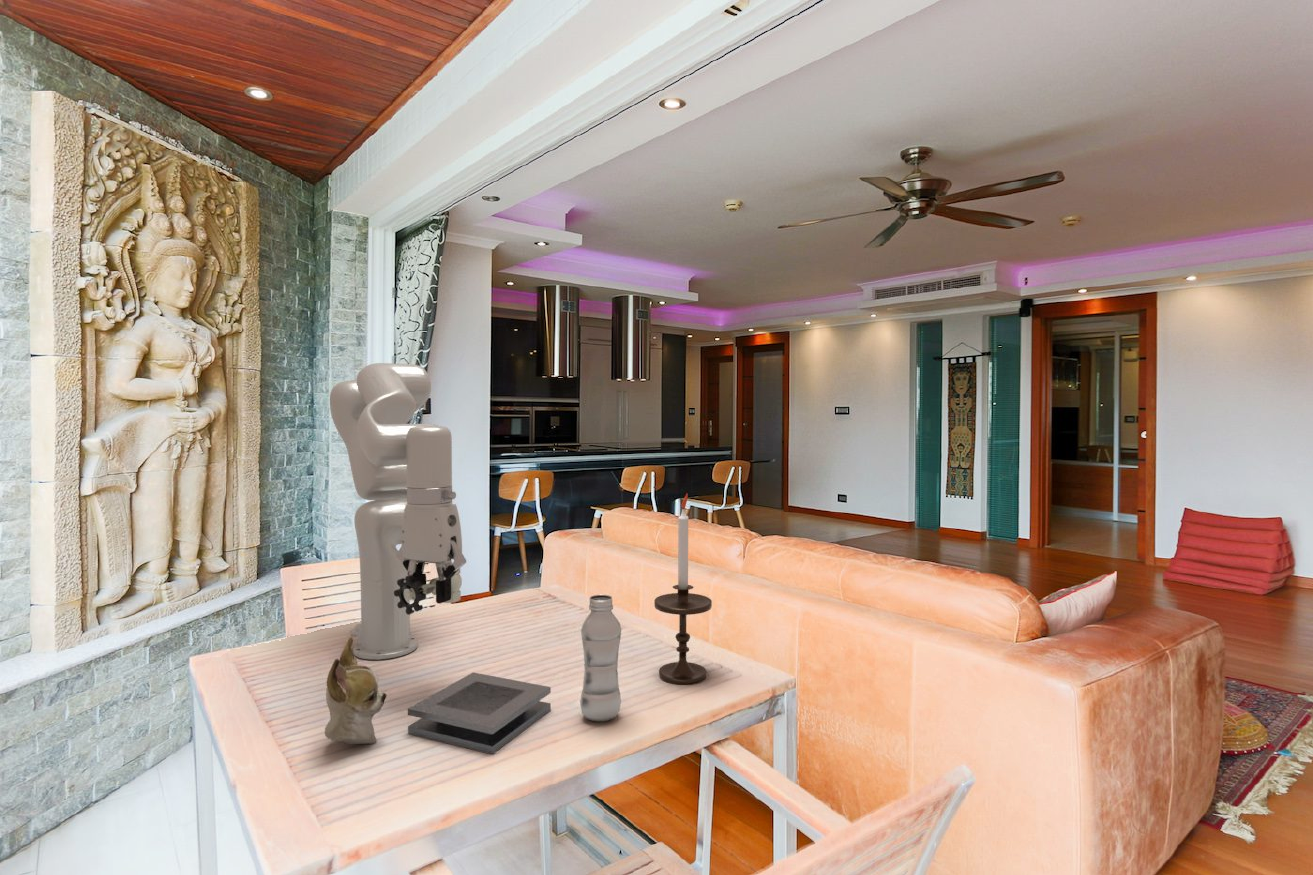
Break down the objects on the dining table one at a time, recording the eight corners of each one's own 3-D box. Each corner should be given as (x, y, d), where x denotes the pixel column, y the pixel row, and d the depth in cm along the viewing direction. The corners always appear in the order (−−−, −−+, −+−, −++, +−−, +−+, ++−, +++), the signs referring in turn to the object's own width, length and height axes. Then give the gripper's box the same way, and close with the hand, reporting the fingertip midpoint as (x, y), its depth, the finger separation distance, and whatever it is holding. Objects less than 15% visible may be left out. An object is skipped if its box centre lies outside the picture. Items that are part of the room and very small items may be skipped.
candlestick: (719, 670, 134) (720, 491, 132) (698, 691, 124) (699, 497, 122) (668, 661, 138) (668, 488, 137) (644, 680, 129) (645, 494, 127)
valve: (444, 595, 129) (393, 612, 118) (444, 560, 128) (393, 573, 118) (471, 599, 126) (422, 617, 115) (471, 563, 125) (421, 578, 115)
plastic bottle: (580, 709, 116) (580, 592, 115) (620, 708, 117) (620, 591, 116) (579, 727, 110) (579, 603, 109) (622, 725, 110) (622, 602, 110)
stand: (408, 733, 108) (407, 708, 107) (473, 694, 122) (473, 672, 122) (492, 754, 101) (492, 727, 101) (550, 710, 116) (550, 687, 116)
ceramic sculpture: (380, 759, 100) (379, 657, 99) (316, 765, 98) (314, 661, 97) (392, 725, 110) (391, 633, 110) (334, 730, 109) (332, 637, 108)
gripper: (483, 496, 120) (484, 599, 121) (407, 491, 127) (409, 589, 128) (454, 502, 113) (455, 611, 114) (376, 496, 120) (378, 599, 121)
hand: (431, 598), depth 121 cm, fingers closed on valve, 4 cm apart
